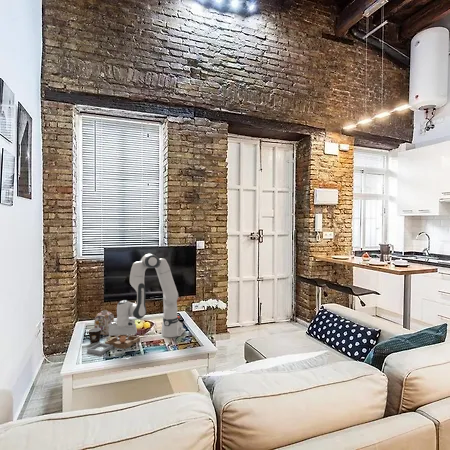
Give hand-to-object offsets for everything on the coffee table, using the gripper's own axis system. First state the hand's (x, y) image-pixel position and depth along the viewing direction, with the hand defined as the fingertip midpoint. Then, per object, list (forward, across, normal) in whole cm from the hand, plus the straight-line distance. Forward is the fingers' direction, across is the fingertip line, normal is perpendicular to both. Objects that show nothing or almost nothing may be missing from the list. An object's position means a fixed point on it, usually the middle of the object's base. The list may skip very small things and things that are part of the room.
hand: (122, 340), depth 245 cm
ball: (+2, 0, 0) cm, 2 cm away
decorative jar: (+3, -20, +28) cm, 35 cm away
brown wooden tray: (+3, 0, 0) cm, 3 cm away
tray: (+3, -14, -10) cm, 18 cm away
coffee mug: (+3, -23, +6) cm, 24 cm away
